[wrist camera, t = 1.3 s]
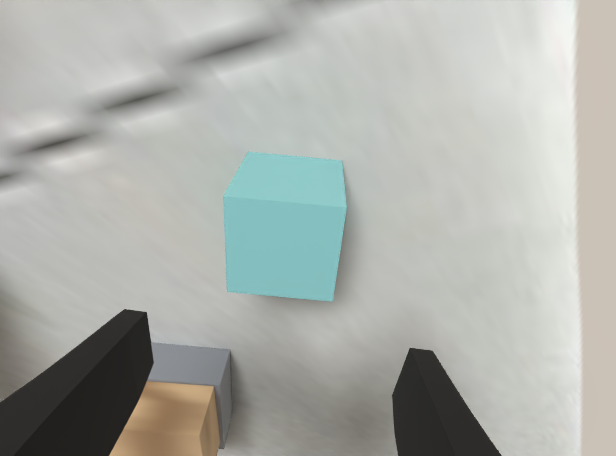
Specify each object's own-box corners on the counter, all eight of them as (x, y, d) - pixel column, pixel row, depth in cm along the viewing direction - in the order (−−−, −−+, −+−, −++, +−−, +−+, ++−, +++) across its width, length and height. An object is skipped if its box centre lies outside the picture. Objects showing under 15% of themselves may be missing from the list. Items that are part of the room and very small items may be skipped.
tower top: (133, 434, 25) (112, 482, 23) (115, 378, 22) (88, 427, 20) (220, 441, 25) (208, 490, 23) (213, 386, 22) (199, 435, 20)
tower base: (142, 400, 28) (124, 440, 26) (127, 336, 25) (104, 374, 22) (233, 409, 28) (223, 449, 26) (231, 346, 25) (219, 385, 22)
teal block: (248, 231, 20) (226, 291, 16) (248, 151, 18) (223, 196, 13) (331, 239, 20) (332, 301, 16) (341, 160, 18) (346, 207, 13)
